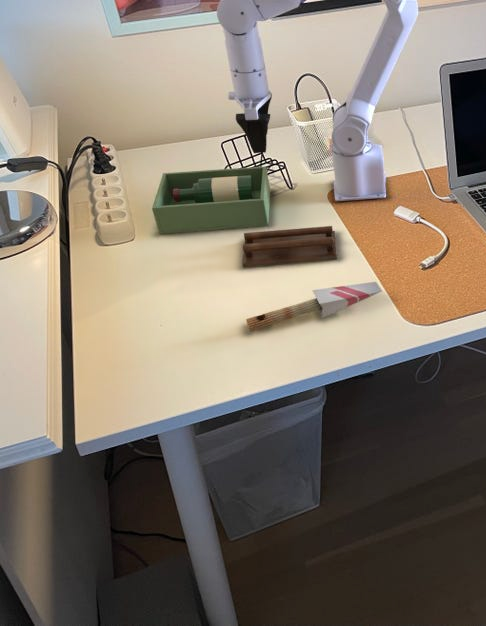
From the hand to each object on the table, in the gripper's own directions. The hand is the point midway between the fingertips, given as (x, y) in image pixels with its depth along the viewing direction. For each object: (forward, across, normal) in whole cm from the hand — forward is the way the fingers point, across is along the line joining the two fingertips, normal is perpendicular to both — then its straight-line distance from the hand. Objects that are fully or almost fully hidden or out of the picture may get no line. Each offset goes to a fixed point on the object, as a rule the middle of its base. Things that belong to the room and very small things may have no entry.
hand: (260, 143), depth 130 cm
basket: (+10, +5, -9) cm, 15 cm away
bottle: (+10, +5, -9) cm, 14 cm away
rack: (+10, +20, +4) cm, 23 cm away
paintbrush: (+11, +38, +8) cm, 41 cm away
